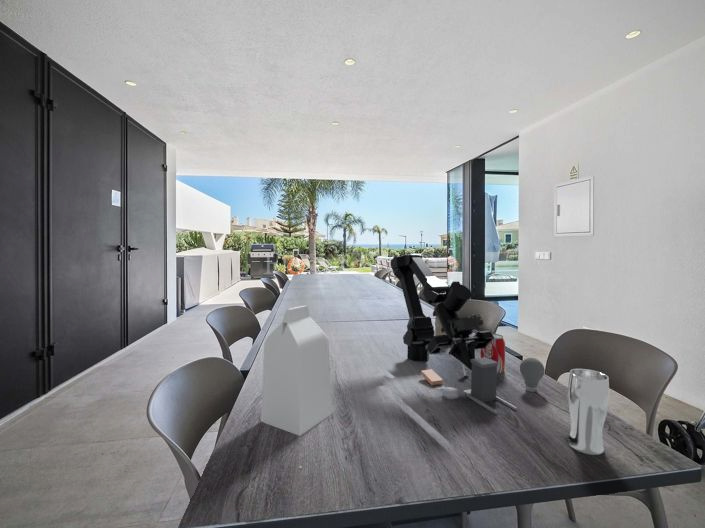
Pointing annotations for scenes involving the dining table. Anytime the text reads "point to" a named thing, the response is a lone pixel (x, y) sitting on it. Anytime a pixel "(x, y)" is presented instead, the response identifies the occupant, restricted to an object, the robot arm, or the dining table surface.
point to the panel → (454, 394)
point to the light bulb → (531, 373)
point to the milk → (296, 374)
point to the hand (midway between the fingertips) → (474, 370)
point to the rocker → (431, 377)
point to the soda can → (495, 352)
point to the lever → (465, 369)
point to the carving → (438, 327)
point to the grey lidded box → (484, 379)
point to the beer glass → (587, 409)
